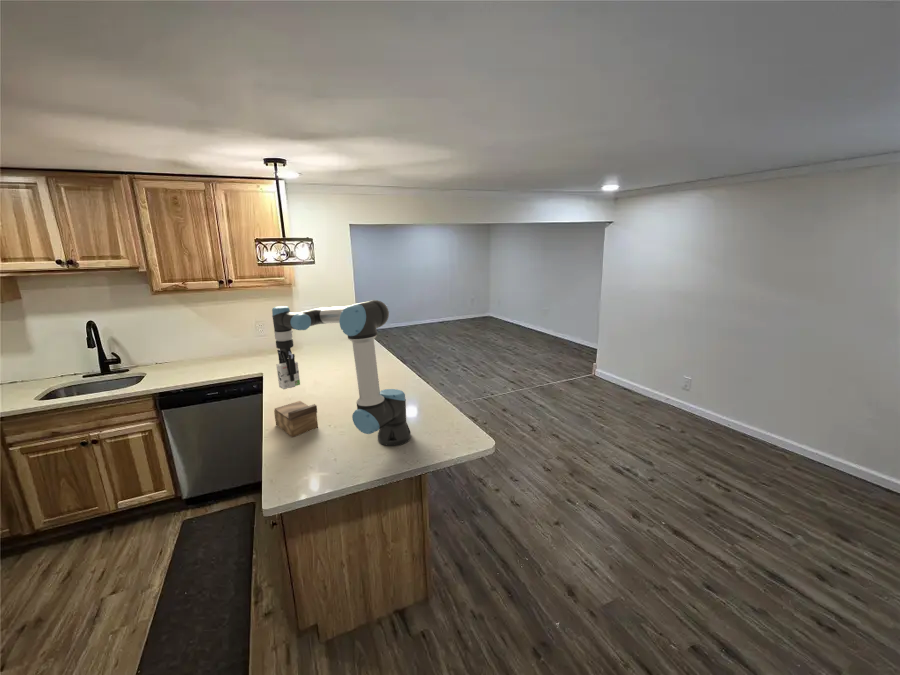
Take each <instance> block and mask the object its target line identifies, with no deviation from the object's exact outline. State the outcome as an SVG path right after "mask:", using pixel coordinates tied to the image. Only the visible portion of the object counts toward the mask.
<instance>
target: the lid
mask: <svg viewBox="0 0 900 675" xmlns="http://www.w3.org/2000/svg"><path fill="white" fill-rule="evenodd" d="M317 406H318V405H317V404H315V403H314V404H311V405H308V404H306V403H305V402H303V401H301V400H297V401H294V402H291V403H287V404H285V405H282V406H278V407H274V410H275V411H277V412H278V413H279V414H281V415H282V416H284V417H285V418H287V419H288V420H289V421H294V420H297V419H300V418H303V417H306V416H309V415H312V414H315V413H318V407H317Z"/></svg>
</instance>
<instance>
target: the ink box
mask: <svg viewBox="0 0 900 675" xmlns="http://www.w3.org/2000/svg"><path fill="white" fill-rule="evenodd" d="M295 367H296V374H294V379H295V387H298V386H300V385H301V380H300V379H301V378H300V373H299V363H298V361H295ZM276 370H277V371H276V373H277V380H278V387H279V388H280V389H282V390H286V389H287V390H288V389H290V388H289V382H288V376H287V374H288V369H287V365H286V362H285V363H280V364H279V363H277V364H276Z"/></svg>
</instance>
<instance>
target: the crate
mask: <svg viewBox="0 0 900 675" xmlns="http://www.w3.org/2000/svg"><path fill="white" fill-rule="evenodd" d="M273 411H274V412H273V413H274V419H275V426H277V427H278V428H279V429H281V430H282V431H283V432H285V434H287V435H288V436H290V437H291V438H294V437H296V436H300V435H302V434H305V433H308V432H310V431H313V430H316V429H318V428H319V423H318V414H317V413H318V412H317V413H315V414H312V415H309V416H306V417H303V418H300V419H297V420H294V421H289V420H288V419H287V418H285V417H284V416H282V415H281V414H279V413H278V412H277V411H275V409H273Z"/></svg>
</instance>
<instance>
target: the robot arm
mask: <svg viewBox="0 0 900 675" xmlns="http://www.w3.org/2000/svg"><path fill="white" fill-rule="evenodd" d="M271 309H272V310H271V312H272V313H271V314H272V315H271V317H272V322H273V330H274V331H273V332H274V339H275V347H276V349H277V355H278V364H280V363H285V362H286V365H287V369H288V374H287V376H288V382H289V388H288V389H292V388H296V386H295V379H294V374H296V367H295V359H296V358H295V356H296V355H295V353H292V350H291V348H293V347H294V339H293V330H295V331H306V330H308V329H309V328H310V327H313V326H317V325H324V324H325V325H326V324H339V327H340V330H341V331H342V332H343V334H344V335H346V336H347V340H349V341H351V343H352V349H353V350H352V351H353V356H354V365H355V366H354V367H355V375H356V381H357V388H358V396H359V397H358V399H357V400H356V402H355V403H356V409H355V410H354V412H353V413H352V416H351V417H352V422H353V424H354V426H355V427H356V429H358V431H359V432H361V433H362V434H364V435H371V434H374V433H375V432H377V441H378V443H379V444H381V445H383V446H388V447H398V446H402V445H405V444H406V443H408V442H409V441H410V440H411V438H412V436H411V435H412V434H411V433H412V432H411V430H410V426H409V424H408V422H407V407H406V406H407V402H406V401H407V399H406V393H405V392H404V391H403V390H402V389H397V388H386V389H382V390H380V380H379V379H380V378H379V373H378V366H377V364H378V362H377V356H376V354H377V353H376V345H375V339H376V338H377V336H378V333H377V331H378V330H377V329H378V328H381V327H383V326H384V325H385V324H386V323H387V322H388V320H389V315H390V314H389V313H390V311H389V308H388V306H387V305H386V304H385V303H384V302H382V301H381V300H375V299H372V300H367V301H363V302H359V303H358V302H357V303H353V304H351V305H345V306H331V307H328V306H321V307H320V306H319V307H317V308H313V309H312V308H311V309H308V310H303V311H298V312H292V311H291V310H290V307H289V306H287V305H278V306H274V307H272V308H271Z"/></svg>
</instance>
